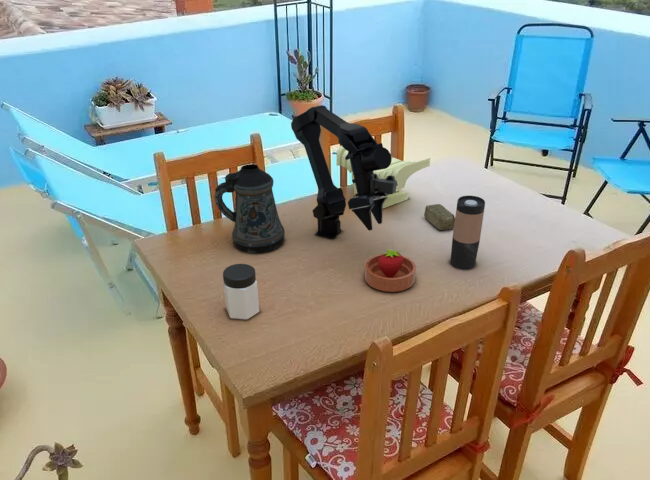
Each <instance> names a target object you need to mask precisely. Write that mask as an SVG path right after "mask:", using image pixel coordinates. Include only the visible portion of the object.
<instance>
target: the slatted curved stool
mask: <svg viewBox="0 0 650 480" xmlns="http://www.w3.org/2000/svg"><path fill="white" fill-rule="evenodd" d="M347 154H348V151H347V150H345V149H344V148H343V147H342V146H341V145H339V147H338V149H337V151H336V167H337V166H339V167H342V168H346V170H347V171H348V173H350V174H351V181H352V180H353V179H354V176H353V172H352V168H351V163H350V159H348V160H346V159H345V157H346V155H347ZM391 157H392V160H391V164H390V166H389V167H388V168H386V169H381V170H376V171H373V172H374V174H375V173H376V174H377V175H378V179H386V178H387V176H389V175H390V176H394V177H395V180H397V184H398V185H397V186H396V192H395V193H393V194H389V195H388V196H385V197H387V199H386V200H385V202H384V203H383V209H386V208H388V207H391V206H394V205H396V204H398V203H402V202H404V201H406V200H408V199H409V196H408V193H407V192H406V191H404V190H403V189H404V188H405V187H406V183H407V181H408V179H409V178H410V177H411V176H412V175H414V174H415V173H417V172H419V171H421V170H423V169H425V168H428V167H430V165H431V157H429V158H426V159H422V160H418V161H416V160H415V161H409V160H408V161H406V160H401V159H398V158H396V157H393V156H392V155H391ZM352 187H353V195H354V197H356V196H355V194H357V189H356V185H355V183H352ZM402 190H403V191H402ZM383 198H384V196H383Z"/></svg>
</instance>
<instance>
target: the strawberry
mask: <svg viewBox="0 0 650 480" xmlns="http://www.w3.org/2000/svg"><path fill="white" fill-rule="evenodd" d="M390 247H391V249H392V250H391V249H389V248H388V247H387V248H386V250H387V252H384V253H382V254H383V255H382V256H381V257H380V258H379V261H378V265H379V268H380V270H381V271H382V272H383V273H384V274H385V275H386V276H387V277H388V278H393V276H394V275H395V274H396V273H397V272H398V271H399V270H400V268H401V267H402V264H403V257H402V256H403V254H400V251H398V250H395V249H394V248H393V247H392V245H390Z"/></svg>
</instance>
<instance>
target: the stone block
mask: <svg viewBox="0 0 650 480" xmlns="http://www.w3.org/2000/svg"><path fill="white" fill-rule="evenodd" d="M424 208H425V209H424V214H423V216H424V218H425V219H426V220H427V221H428V222H429V223H430V224H431V225H432V226H433V227H434V228H436V229H437V230H439V231H447V230H449V231H450V230H452V229H454V223H455V214H454V213H452V212H451V211H450V210H448V209H447V208H446V207H445V206H444V205H442V204H441V203H435V204H429V205H426V206H425V207H424Z"/></svg>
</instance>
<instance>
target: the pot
mask: <svg viewBox="0 0 650 480" xmlns="http://www.w3.org/2000/svg"><path fill="white" fill-rule="evenodd" d="M382 255H383V253H379V254H376V255H373V256H371V257H369V258H367V260H366V261H365V264H364V281H365V283H366V284H367V285H368V286H370V287H371V288H373V289H375V290H378V291H382V292H390V293H394V292H401V291H402V292H403V291H404V290H408V289H409V288H411V287H412V286H413V285H414V284H415V282H416V272H417V265H416V263H415V261H413V260H412V259H410V258H409V257H407V256H405V255H402V257H403V264H402V267H401V268H400V270H399V271H398V272H397V273H396V274H395V275H394V276H393V278H388V277H387V276H386V275H385V274H384V273H383V272H382V271H381V270H380V268H379V265H378V261H379V258H380V257H381V256H382Z"/></svg>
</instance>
